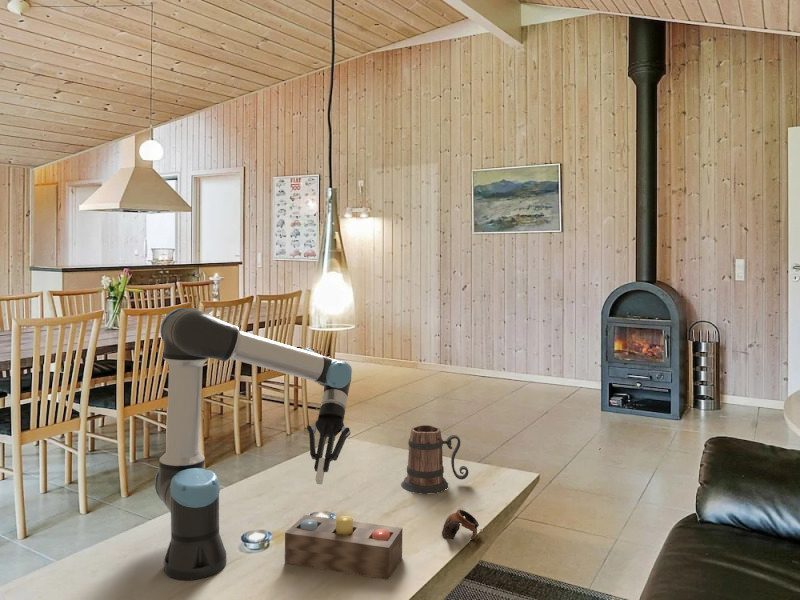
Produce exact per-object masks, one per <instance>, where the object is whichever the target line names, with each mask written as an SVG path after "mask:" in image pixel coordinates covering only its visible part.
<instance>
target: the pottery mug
mask: <svg viewBox="0 0 800 600" xmlns="http://www.w3.org/2000/svg"><path fill="white" fill-rule="evenodd" d="M442 527H443V528H442V530H441V536H442V537H443V538H444V539H445V538H446V539H447V538H448V539H450V540H454V539H455V537H456V535H457V533H458V532H459V530H460V529H461V527H464V528H465V529H467V530H469V531H471V532H472V534H471V535H472V536H471V540H472V541H474V540H475V539H474V538H476V536H477V535H478V527H479V522H478V520H477V519H476V518H475V517H474V516H473V515H472V514H470V513H469V512H467V511H466V510H464V509H461V508H460V509H457V511H456V512H453V513H451V514H450V515H448V516H447V518H446V519H445V522H444V525H443V526H442ZM473 539H474V540H473Z"/></svg>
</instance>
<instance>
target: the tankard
mask: <svg viewBox="0 0 800 600" xmlns="http://www.w3.org/2000/svg"><path fill="white" fill-rule="evenodd" d="M455 439H456V440H457V444H456V445H455V448H454V450H453V452H452V454H451V459H450V460H451V461H450V464H451V469H452V473H453V474H454V476H455V478H457V479H459V480H465V479H466V478H467V477H468V476H469V469H468V467H467V466H465V465H462V466H460V467H459V473H460V474H461V475H460V474H458V473H457V471H456V469H455V459H456V454H457V453H458V451H459V449H460V447H461V442H462V441H461V439H460V437H459V436H458V435H457V434H451V435H450V436H448V437H447V439H446V440H443V438H442V432H441V428H439V427H436V426H434V425H429V424H428V425H427V424H422V425H418V426H417V425H416V426H413V427H412V428H411V429H410V435H409V438H408V442H407V443H408V455H407V456H408V457H407V465H406V473H407V474H406V475H407V476H405V478H404V480H403V481H402V482H401V484H400V487H401V488H402V489H403V490H405V491H407V492H409V493H413V492H414V493H413V494H419V493H422V494H421V495H428V494H427V493H435V494H438V493H437V492H440V493H442V492H441V491H443V492H445V491H446V490H445V489H447V488H448V484H449V483H448V482H447V479H446V478H445V477H444V472H445V471H444V465H443V459H444V458H443V445H446V446H447V448H448V449H449V450H452V449H453V447H452V440H455ZM463 470H465V472H464V471H463ZM448 489H449V488H448ZM448 489H447V490H448ZM444 490H445V491H444Z"/></svg>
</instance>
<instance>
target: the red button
mask: <svg viewBox="0 0 800 600" xmlns="http://www.w3.org/2000/svg"><path fill="white" fill-rule="evenodd" d="M372 539H376V540H383V541H388V540H389V539H390V532H389V531H388V530H384V529H378V530H375V531H373V532H372Z"/></svg>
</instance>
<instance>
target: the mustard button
mask: <svg viewBox="0 0 800 600" xmlns="http://www.w3.org/2000/svg"><path fill="white" fill-rule="evenodd" d="M335 519H336V534H341V535H348V536H351V534H352V533H353V521H354V517H352V516H350V515H341V516H337V517H336V518H335Z"/></svg>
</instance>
